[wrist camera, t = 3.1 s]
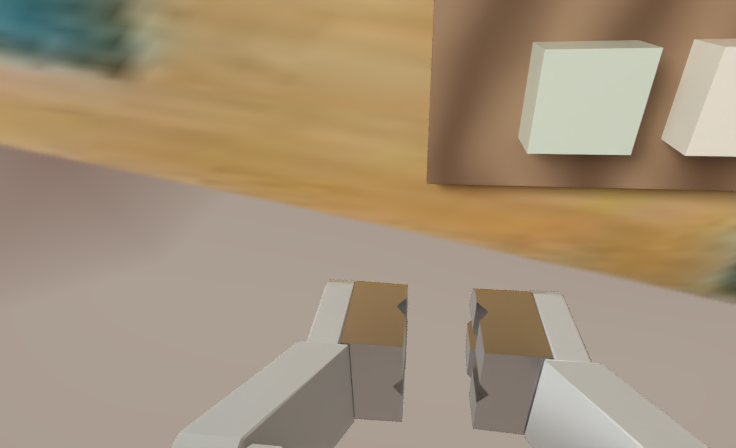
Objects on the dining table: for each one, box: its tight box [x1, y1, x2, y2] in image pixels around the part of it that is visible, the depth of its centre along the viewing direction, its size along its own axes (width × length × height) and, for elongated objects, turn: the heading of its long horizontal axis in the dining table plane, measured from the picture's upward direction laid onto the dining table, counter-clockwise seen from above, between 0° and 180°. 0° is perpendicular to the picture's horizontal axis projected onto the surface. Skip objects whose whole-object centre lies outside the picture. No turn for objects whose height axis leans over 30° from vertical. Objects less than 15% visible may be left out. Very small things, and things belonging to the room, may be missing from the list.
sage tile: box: [518, 40, 663, 155], centre depth 21 cm, size 5×5×2 cm
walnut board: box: [427, 0, 736, 191], centre depth 22 cm, size 20×11×2 cm, turn 92°
